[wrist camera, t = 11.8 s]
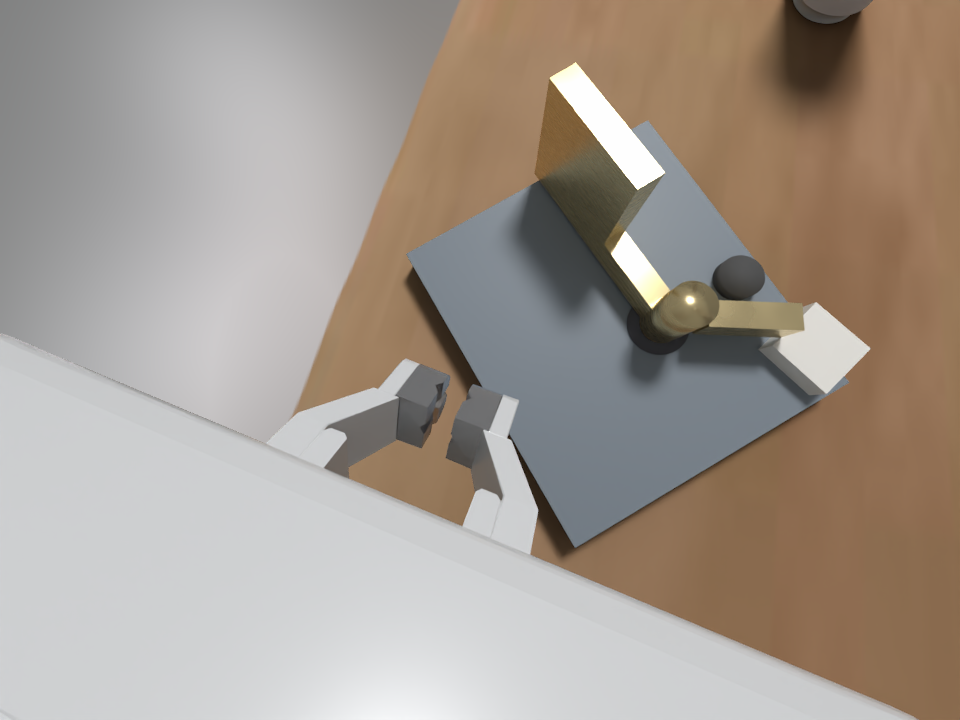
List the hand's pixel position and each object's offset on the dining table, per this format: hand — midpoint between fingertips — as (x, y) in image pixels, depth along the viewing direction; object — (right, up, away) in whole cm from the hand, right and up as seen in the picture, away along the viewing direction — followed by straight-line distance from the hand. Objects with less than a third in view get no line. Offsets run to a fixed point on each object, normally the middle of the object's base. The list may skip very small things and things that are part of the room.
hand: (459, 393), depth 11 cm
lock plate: (+10, +4, +14) cm, 18 cm away
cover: (+21, +2, +11) cm, 24 cm away
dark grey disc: (+18, +6, +12) cm, 22 cm away
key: (+11, +7, +13) cm, 18 cm away
